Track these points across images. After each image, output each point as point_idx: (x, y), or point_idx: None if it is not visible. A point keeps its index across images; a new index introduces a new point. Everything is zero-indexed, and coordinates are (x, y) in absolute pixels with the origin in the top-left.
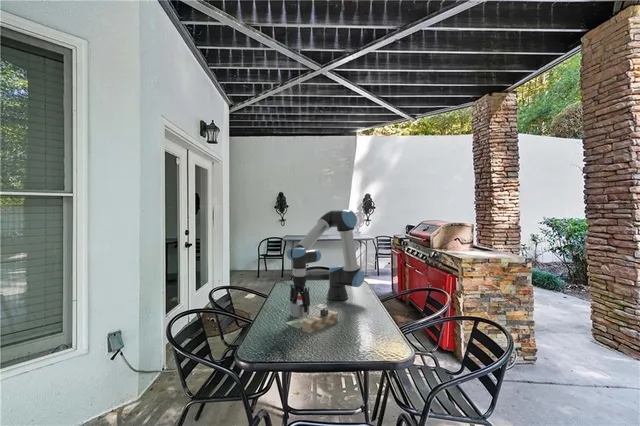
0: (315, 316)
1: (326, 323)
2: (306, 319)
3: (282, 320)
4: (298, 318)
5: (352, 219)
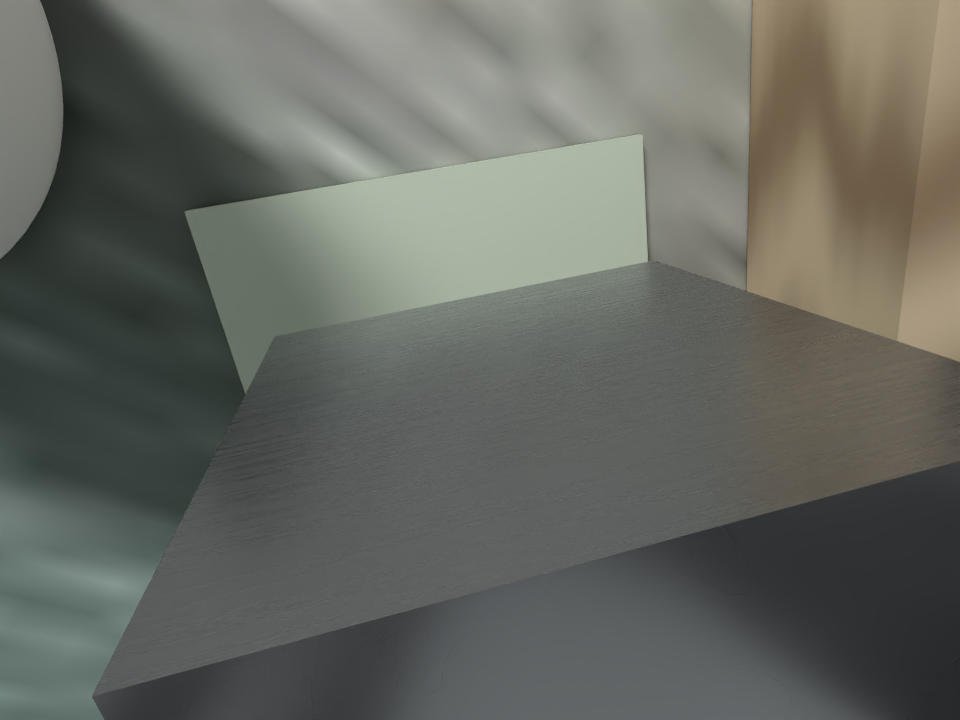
0: (923, 238)
1: None
2: (404, 197)
3: (119, 604)
4: (230, 318)
5: None
